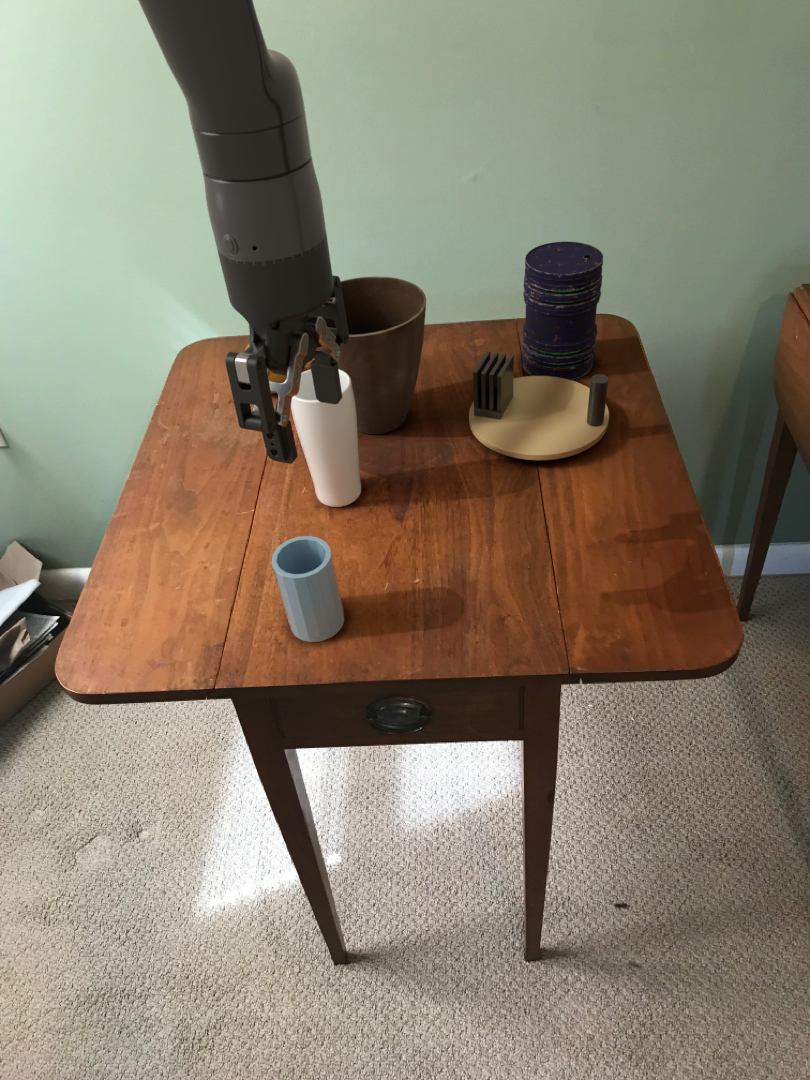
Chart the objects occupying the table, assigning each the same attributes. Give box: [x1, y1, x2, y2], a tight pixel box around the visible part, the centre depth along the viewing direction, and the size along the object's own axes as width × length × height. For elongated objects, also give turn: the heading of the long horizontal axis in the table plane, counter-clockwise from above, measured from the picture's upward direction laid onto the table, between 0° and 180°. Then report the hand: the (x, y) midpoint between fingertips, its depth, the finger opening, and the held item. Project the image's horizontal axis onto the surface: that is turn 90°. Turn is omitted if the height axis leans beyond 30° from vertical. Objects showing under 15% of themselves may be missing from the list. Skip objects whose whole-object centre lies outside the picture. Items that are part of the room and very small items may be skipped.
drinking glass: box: [290, 369, 362, 508], centre depth 84 cm, size 7×7×15 cm
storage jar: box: [521, 241, 604, 381], centre depth 101 cm, size 10×10×15 cm
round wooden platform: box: [468, 351, 610, 460], centre depth 93 cm, size 17×17×7 cm
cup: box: [271, 535, 345, 643], centre depth 73 cm, size 5×5×9 cm
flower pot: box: [326, 276, 427, 435], centre depth 95 cm, size 15×15×16 cm
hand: (308, 429), depth 63 cm, fingers open, 8 cm apart
